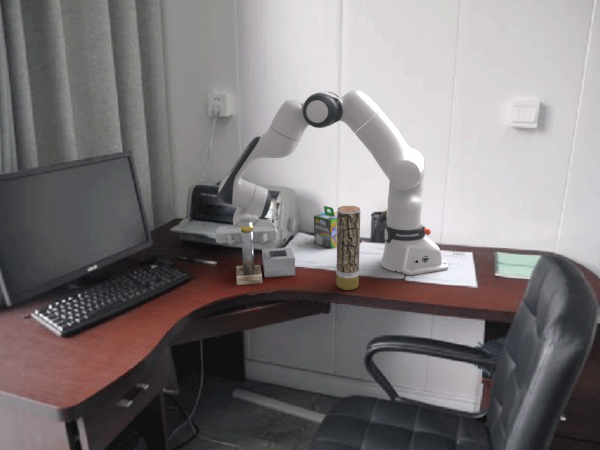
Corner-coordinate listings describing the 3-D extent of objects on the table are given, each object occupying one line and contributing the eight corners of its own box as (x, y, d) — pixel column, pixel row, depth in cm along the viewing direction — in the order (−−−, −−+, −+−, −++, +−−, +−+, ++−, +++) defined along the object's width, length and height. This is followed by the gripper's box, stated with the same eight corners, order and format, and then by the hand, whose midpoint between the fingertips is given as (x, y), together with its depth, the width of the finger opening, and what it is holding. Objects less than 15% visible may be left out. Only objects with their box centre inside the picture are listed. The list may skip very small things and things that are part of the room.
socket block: (291, 263, 173) (291, 247, 172) (295, 275, 164) (294, 258, 162) (262, 265, 172) (262, 249, 170) (264, 277, 163) (263, 260, 161)
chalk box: (347, 243, 192) (347, 206, 188) (330, 249, 186) (330, 211, 182) (329, 237, 199) (329, 201, 194) (313, 243, 193) (312, 206, 188)
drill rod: (254, 272, 164) (252, 219, 158) (255, 276, 160) (252, 223, 155) (243, 272, 163) (240, 220, 158) (243, 277, 160) (240, 223, 154)
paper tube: (357, 291, 152) (359, 212, 144) (335, 290, 153) (335, 211, 145) (359, 282, 158) (361, 206, 150) (338, 281, 159) (338, 205, 152)
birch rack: (260, 272, 167) (260, 264, 166) (262, 283, 158) (262, 275, 158) (236, 273, 166) (236, 266, 165) (236, 284, 157) (236, 277, 157)
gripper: (214, 220, 168) (213, 234, 155) (275, 217, 171) (279, 230, 158) (215, 238, 170) (214, 253, 157) (275, 235, 173) (279, 249, 160)
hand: (247, 241), depth 157 cm, fingers open, 8 cm apart
